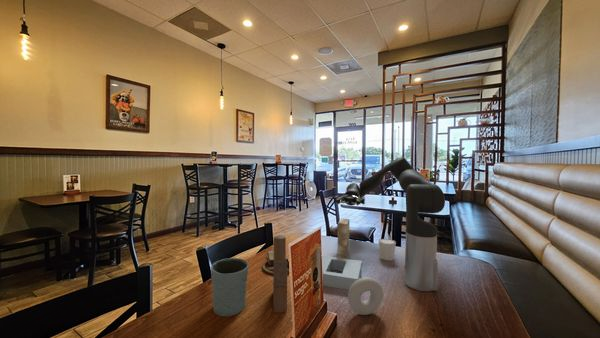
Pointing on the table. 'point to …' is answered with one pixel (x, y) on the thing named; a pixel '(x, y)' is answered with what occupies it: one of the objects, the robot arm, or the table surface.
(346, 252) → the plank
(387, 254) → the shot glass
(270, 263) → the toy sandwich meal
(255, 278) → the table surface
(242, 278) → the grey-blue cup
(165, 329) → the table surface
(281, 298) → the wooden block
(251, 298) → the table surface
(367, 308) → the donut
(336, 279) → the slotted base
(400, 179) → the robot arm
